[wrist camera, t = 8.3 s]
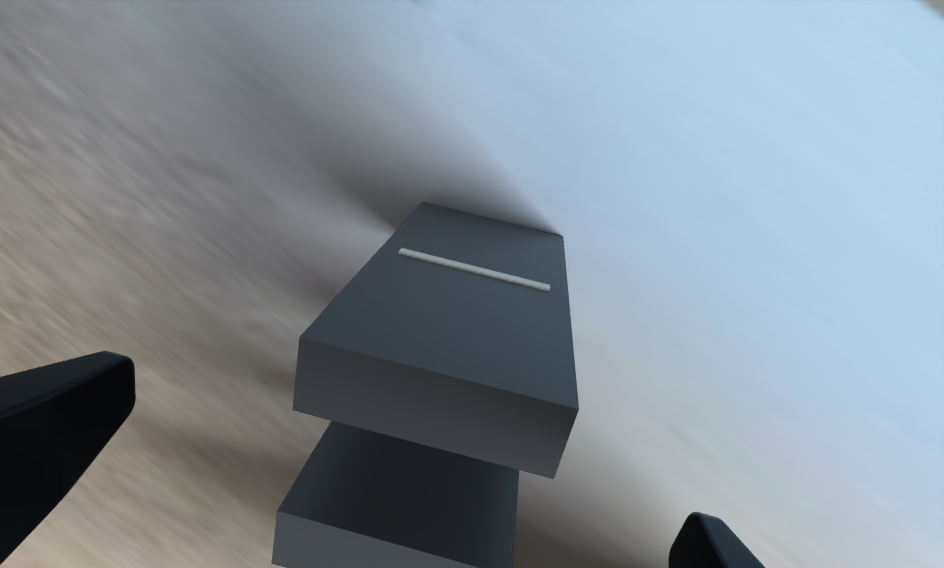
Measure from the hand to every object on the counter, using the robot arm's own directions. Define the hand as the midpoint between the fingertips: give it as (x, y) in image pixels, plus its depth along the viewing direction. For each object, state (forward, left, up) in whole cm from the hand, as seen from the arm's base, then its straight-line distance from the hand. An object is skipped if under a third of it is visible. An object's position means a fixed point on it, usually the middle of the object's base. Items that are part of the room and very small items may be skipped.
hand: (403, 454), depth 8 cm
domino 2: (-4, -2, -11) cm, 12 cm away
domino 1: (0, 0, -11) cm, 11 cm away
